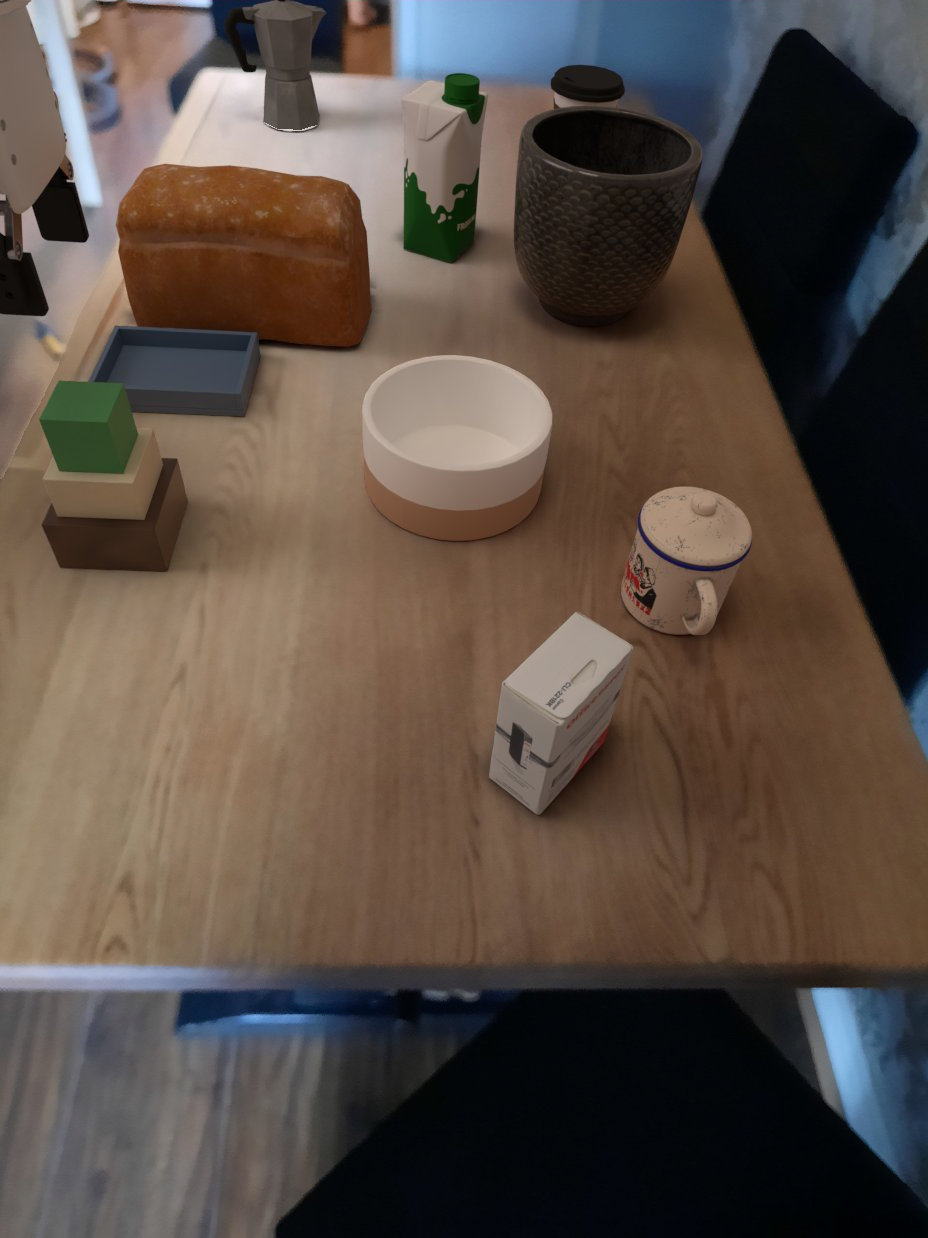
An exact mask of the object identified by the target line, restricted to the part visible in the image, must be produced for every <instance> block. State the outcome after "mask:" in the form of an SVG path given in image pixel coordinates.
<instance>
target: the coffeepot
mask: <svg viewBox="0 0 928 1238" xmlns="http://www.w3.org/2000/svg"><path fill="white" fill-rule="evenodd" d="M325 15H327V12H326V10H324V9H323V7H318V6H317V5H309V4H304V3H301V2H298V1H295V0H270V1H265V2H261V3H257V4H253V6H244V7H233V8H231V9H230V10H229V12H228V14H227V16H226V17H225V19H224V21H223V29H224V31H225V34H226V36H227V38H228V40H229V42H230V44H231V48H232V50H233V51H234V54H235V56H236V59H237V61H238V63H239V65H240V68H241V70H242V71H243V72H244V73H256V71H257V68H258V67H257V66H258V65H257V64H250V63H248V58H247V57H248V56H247V52H246V50H245V48H244V46H243V44H242V41H241V37H240V33H239V31H238V29H237V25H238V24H246V25H253V27H254V32H255V35H256V40H257V44H258V48H259V53H260V58H261V61H262V63H263V64H264V65H265V76H264V93H263V94H264V95H263V96H264V97H263V121H262V123H264V122H265V123H267V124H269V125H271V126H273V127H275V128H277V129H293V130H302V129H305V128H308V127H311V126H315V125H318V126H319V124H318V122H319V123H320V118H321V116H320V115H321V114H320V110H319V106H318V100H317V97H316V92H315V88H314V83H313V78H312V75H311V73H310V64H311V61H312V46H313V44H312V43H313V40H314V37H315V35H316V32H317V30H318V27H319V25H320V23H321V22H322V20H323V18H324V16H325ZM319 117H320V118H319ZM265 123H264V124H265Z"/></svg>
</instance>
